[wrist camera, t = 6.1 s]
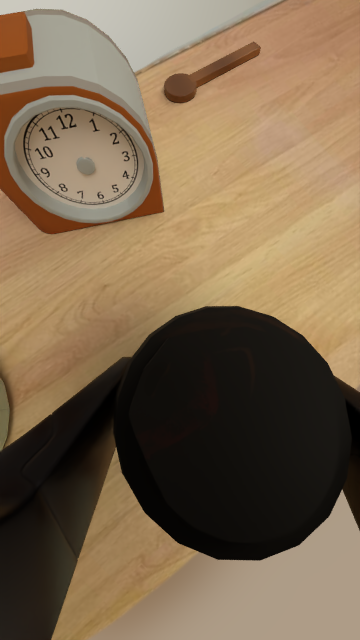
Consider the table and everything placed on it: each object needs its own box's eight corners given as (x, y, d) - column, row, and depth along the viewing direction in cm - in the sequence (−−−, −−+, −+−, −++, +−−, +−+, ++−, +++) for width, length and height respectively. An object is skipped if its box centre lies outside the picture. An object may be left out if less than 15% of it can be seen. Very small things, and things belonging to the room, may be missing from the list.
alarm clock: (38, 240, 26) (-110, 99, 13) (34, 181, 28) (-96, 10, 15) (164, 214, 27) (144, 54, 14) (151, 158, 29) (122, -26, 16)
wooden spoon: (246, 43, 34) (247, 36, 33) (265, 59, 33) (267, 51, 32) (158, 89, 32) (157, 82, 31) (176, 107, 31) (176, 100, 30)
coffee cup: (274, 373, 15) (421, 357, 6) (232, 479, 14) (339, 700, 4) (181, 328, 16) (175, 250, 7) (133, 422, 15) (34, 493, 5)
